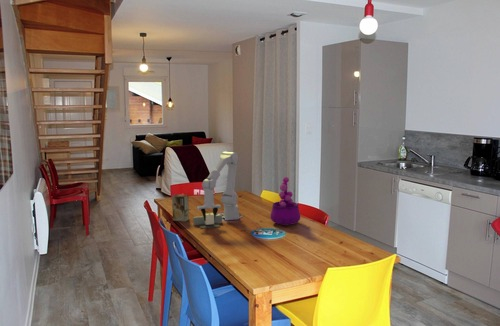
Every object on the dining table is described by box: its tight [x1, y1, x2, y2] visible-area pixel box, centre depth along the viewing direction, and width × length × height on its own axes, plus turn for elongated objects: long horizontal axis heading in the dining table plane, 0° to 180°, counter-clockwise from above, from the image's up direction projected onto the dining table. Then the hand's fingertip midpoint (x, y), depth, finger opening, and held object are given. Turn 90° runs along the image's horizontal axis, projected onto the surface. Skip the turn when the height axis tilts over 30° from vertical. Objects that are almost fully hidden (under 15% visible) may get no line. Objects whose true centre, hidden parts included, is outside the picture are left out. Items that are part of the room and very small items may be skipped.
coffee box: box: [171, 194, 190, 222], centre depth 270 cm, size 9×6×16 cm
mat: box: [198, 223, 221, 230], centre depth 257 cm, size 12×8×1 cm, turn 107°
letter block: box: [205, 212, 214, 225], centre depth 257 cm, size 5×5×6 cm
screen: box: [192, 214, 223, 226], centre depth 261 cm, size 18×1×5 cm, turn 107°
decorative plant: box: [269, 176, 301, 226], centre depth 261 cm, size 19×18×30 cm
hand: (209, 220), depth 257 cm, fingers closed on letter block, 5 cm apart
